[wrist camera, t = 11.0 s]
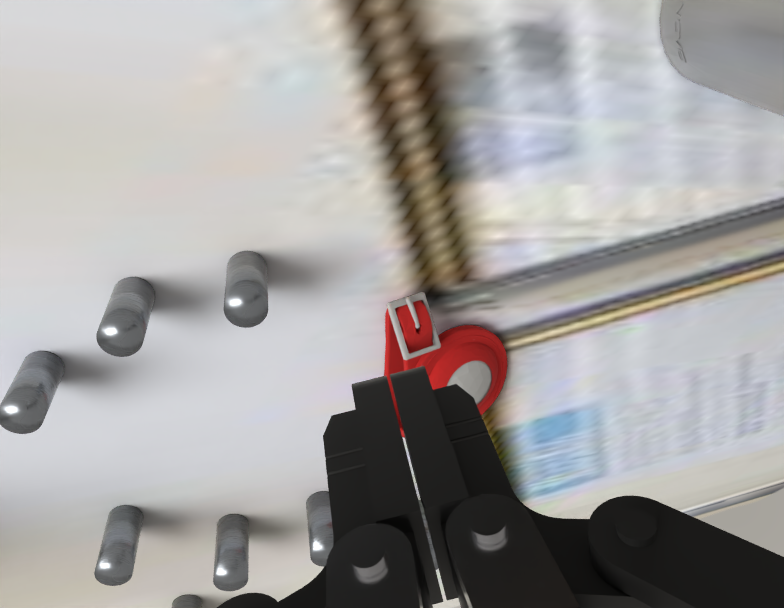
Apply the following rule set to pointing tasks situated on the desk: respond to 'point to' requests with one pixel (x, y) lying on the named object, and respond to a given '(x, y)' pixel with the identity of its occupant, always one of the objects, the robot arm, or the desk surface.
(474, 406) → the robot arm
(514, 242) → the desk surface
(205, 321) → the desk surface
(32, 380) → the spacer posts
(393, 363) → the tracker holder
